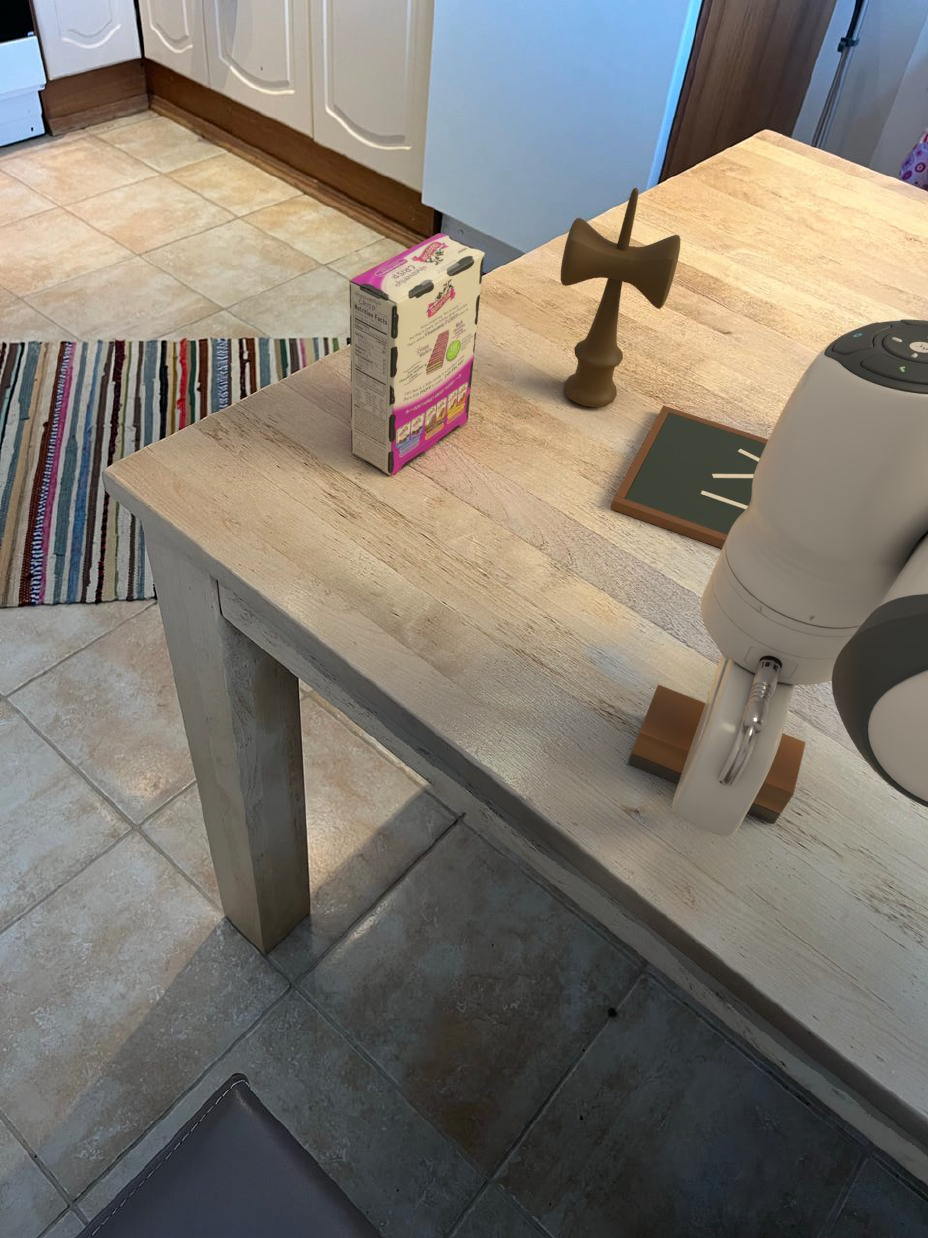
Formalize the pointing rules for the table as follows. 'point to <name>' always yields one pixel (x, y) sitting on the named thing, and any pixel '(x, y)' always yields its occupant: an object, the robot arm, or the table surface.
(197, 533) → the table surface
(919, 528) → the robot arm
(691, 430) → the chalkboard
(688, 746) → the eraser
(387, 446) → the candy bar box
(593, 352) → the kendama
